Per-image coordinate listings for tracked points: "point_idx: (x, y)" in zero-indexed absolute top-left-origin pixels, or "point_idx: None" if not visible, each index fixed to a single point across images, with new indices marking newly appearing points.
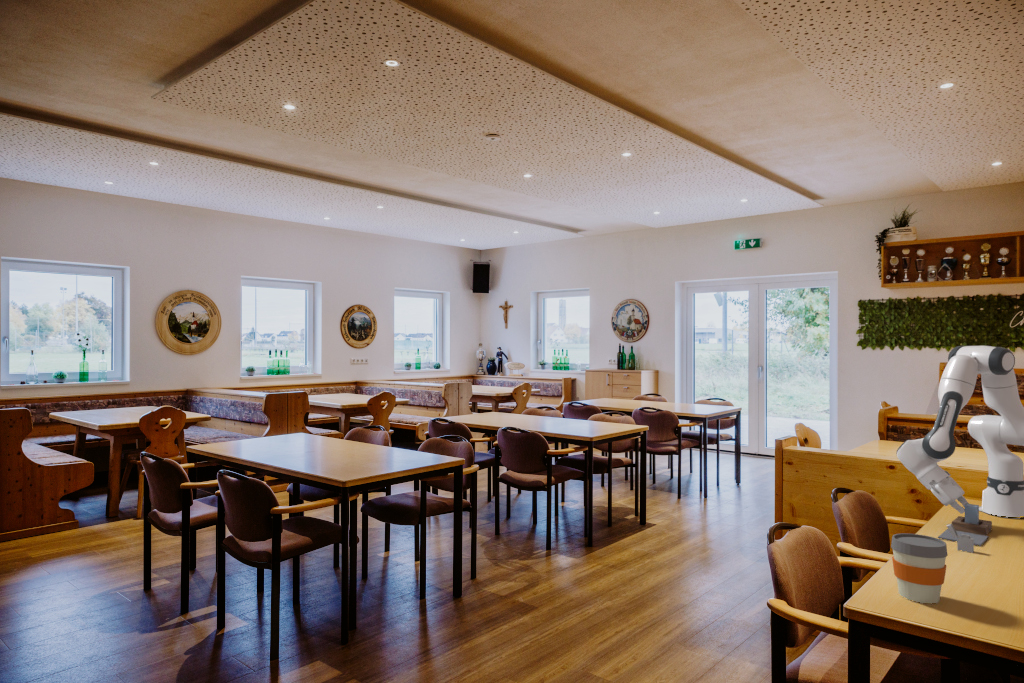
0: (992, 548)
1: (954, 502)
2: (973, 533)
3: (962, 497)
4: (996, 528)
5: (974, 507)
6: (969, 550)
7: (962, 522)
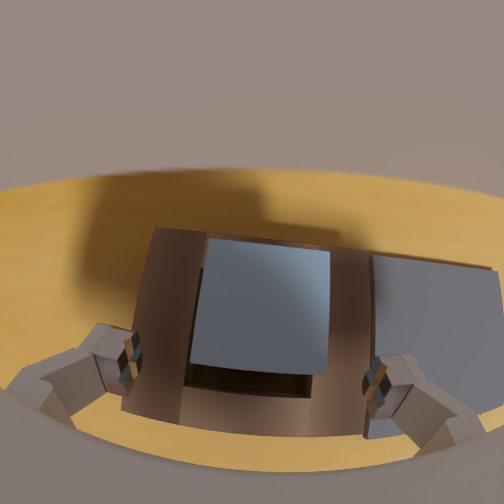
0: (484, 242)
1: (476, 433)
2: (376, 317)
3: (48, 399)
4: (126, 232)
5: (326, 277)
6: None
7: (328, 381)
